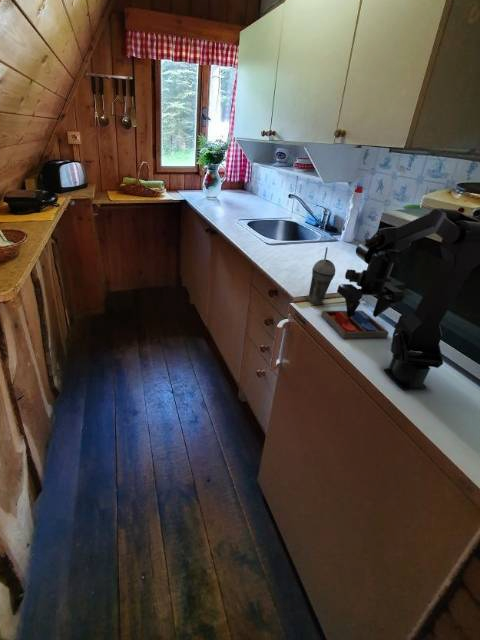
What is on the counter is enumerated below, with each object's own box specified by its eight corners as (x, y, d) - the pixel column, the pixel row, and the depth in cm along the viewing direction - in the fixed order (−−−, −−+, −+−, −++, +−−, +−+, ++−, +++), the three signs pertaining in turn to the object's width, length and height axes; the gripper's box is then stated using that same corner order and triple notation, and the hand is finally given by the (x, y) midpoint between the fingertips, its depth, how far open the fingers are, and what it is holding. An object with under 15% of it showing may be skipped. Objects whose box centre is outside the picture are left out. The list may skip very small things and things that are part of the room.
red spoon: (330, 318, 96) (333, 310, 95) (341, 318, 97) (344, 310, 96) (346, 333, 89) (349, 325, 88) (357, 333, 90) (360, 325, 89)
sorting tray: (386, 338, 90) (389, 332, 89) (343, 339, 87) (345, 333, 87) (360, 315, 101) (362, 310, 100) (320, 316, 98) (322, 310, 97)
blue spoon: (349, 317, 97) (352, 310, 96) (360, 317, 98) (363, 310, 97) (366, 332, 90) (369, 324, 89) (377, 332, 91) (380, 324, 90)
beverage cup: (329, 307, 104) (346, 253, 96) (308, 305, 103) (323, 250, 96) (321, 296, 110) (336, 245, 103) (301, 294, 110) (315, 242, 103)
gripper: (385, 261, 98) (369, 302, 104) (333, 259, 95) (320, 302, 101) (414, 276, 88) (394, 322, 94) (357, 275, 85) (341, 322, 90)
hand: (361, 316), depth 95 cm, fingers open, 9 cm apart
